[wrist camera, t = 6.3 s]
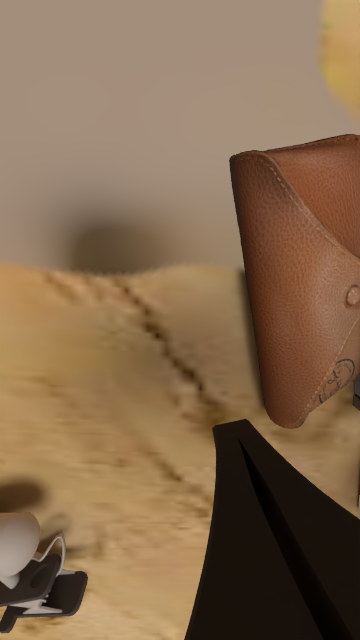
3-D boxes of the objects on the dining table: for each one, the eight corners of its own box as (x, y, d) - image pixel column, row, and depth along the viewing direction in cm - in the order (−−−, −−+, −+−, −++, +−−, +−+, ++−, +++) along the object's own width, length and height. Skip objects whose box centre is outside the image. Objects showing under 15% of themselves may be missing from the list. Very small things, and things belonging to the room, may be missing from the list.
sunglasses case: (366, 382, 22) (381, 449, 17) (274, 378, 25) (262, 432, 20) (366, 121, 16) (390, 91, 10) (244, 161, 19) (214, 154, 14)
